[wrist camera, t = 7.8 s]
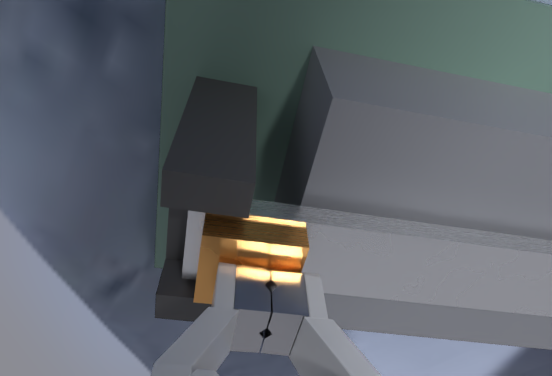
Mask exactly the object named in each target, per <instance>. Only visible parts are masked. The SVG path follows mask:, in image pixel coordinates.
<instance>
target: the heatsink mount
mask: <svg viewBox="0 0 552 376" xmlns="http://www.w3.org/2000/svg"><path fill="white" fill-rule="evenodd" d="M252 199H255V200H263V201H270V202H277V203H285V204H292V205H299V206H307V207H314V208H321V209H328V210H336V211H343V212H350V213H358V214H365V215H372V216H379V217H387V218H394V219H401V220H409V221H416V222H423V223H431V224H438V225H445V226H452V227H460V228H467V229H474V230H482V231H489V232H496V233H504V234H511V235H518V236H525V237H533V238H540V239H547V240H552V5H548V4H544V3H540V2H536V1H531V0H166V7H165V31H164V54H163V78H162V101H161V124H160V148H159V171H158V195H157V218H156V242H155V265H154V267H155V268H163V270H162V274H161V277H160V281H159V285H158V289H157V292H156V304H155V318H162V319H172V320H183V321H193V322H194V321H195V320H196V319H197V318H198V317H199V316H200V315H201V314H202V313H203V312H204V311H205V310H206V309H207V308H208V307H211V305H212V304H205V303H195V302H193V301H194V293H195V285H196V280H194V279H185V278H182V268H183V258H184V248H185V238H186V228H187V218H188V210H189V211H196V212H203V213H211V214H218V215H226V216H233V217H240V218H249V213H250V208H251V204H252ZM324 297H325V303H326V309H327V315H328V319H333V320H334V321H335V322H336V323H337V325H338V326H339V327H340V328H341V329H347V330H357V331H367V332H377V333H388V334H398V335H408V336H418V337H428V338H438V339H448V340H458V341H468V342H478V343H488V344H498V345H508V346H518V347H529V348H539V349H549V350H552V317H547V316H538V315H528V314H519V313H509V312H500V311H490V310H481V309H471V308H462V307H452V306H442V305H433V304H423V303H414V302H404V301H395V300H385V299H376V298H366V297H357V296H347V295H337V294H328V293H324Z"/></svg>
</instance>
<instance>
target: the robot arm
mask: <svg viewBox="0 0 552 376" xmlns="http://www.w3.org/2000/svg"><path fill="white" fill-rule="evenodd" d="M260 347H261V353H266V354H275V355H283V356H289V358H290V360H291V362H292V363H293V365H294V367H295V369H296V370H297V372H298V374H299V375H300V376H381V374H380V373H379V372H378V371H377V370H376V369H375V367H374V366H373V365H372V364H371V363H370V362H369V361H368V359H367V358H366V357H365V356H364V355H363V354H362V352H361V351H360V350H359V349H358V348H357V347H356V345H355V344H354V343H353V342H352V341H351V340H350V339H349V337H348V336H347V335H346V334H345V333H344V332H343V330H342V329H341V328H340V327H339V326H338V325H337V323H336V322H335V321H334V320H333V319H328V315H327V309H326V303H325V297H324V292H323V286H322V280H321V276H320V275H319V274H316V273H306V272H303V273H302V272H297V271H288V270H279V269H270V270H269V269H267V268H260V267H253V266H246V265H239V264H229V263H223V262H219V264H218V269H217V275H216V280H215V286H214V292H213V298H212V305H211V307H208V308H207V309H206V310H205V311H204V312H203V313H202V314H201V315H200V316H199V317H198V318H197V319H196V320H195V321H194V322H193V323H192V324H191V325H190V326H189V327H188V328H187V329H186V330H185V332H184V333H183V334H182V335H181V336H180V337H179V338H178V339H177V340H176V341H175V342H174V343H173V344H172V345H171V346H170V347H169V348H168V349H167V350H166V351H165V352H164V353H163V354H162V355H161V357H160V358H159V359H158V360H157V361H156V362H155V363H154V364H153V369H152V373H151V376H220V375H219V374H218V373H217V372H216V371H217V370H218V368H219V367H220V366H221V364H222V363H223V361H224V360H225V359H226V357H227V356H228V354H229V353H230V351H238V352H255V353H259V351H260Z"/></svg>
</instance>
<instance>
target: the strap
mask: <svg viewBox="0 0 552 376" xmlns="http://www.w3.org/2000/svg"><path fill="white" fill-rule="evenodd" d="M219 262H223V263H229V264H239V265H246V266H253V267H260V268H267V269H269V270H270V269H279V270H288V271H297V272H302V273H303V272H306V273H316V274H319V275H320V276H321V280H322V286H323V292H324V293H328V294H337V295H347V296H357V297H366V298H376V299H385V300H395V301H404V302H414V303H423V304H433V305H442V306H452V307H462V308H471V309H481V310H490V311H500V312H509V313H519V314H528V315H538V316H547V317H552V240H547V239H540V238H533V237H525V236H518V235H511V234H504V233H496V232H489V231H482V230H474V229H467V228H460V227H452V226H445V225H438V224H431V223H423V222H416V221H409V220H401V219H394V218H387V217H379V216H372V215H365V214H358V213H350V212H343V211H336V210H328V209H321V208H314V207H307V206H299V205H292V204H285V203H277V202H270V201H263V200H255V199H252V204H251V208H250V213H249V218H240V217H233V216H226V215H218V214H211V213H203V212H196V211H189V210H188V218H187V228H186V238H185V248H184V258H183V268H182V278H185V279H194V280H196V285H195V293H194V301H193V302H195V303H205V304H212V298H213V292H214V286H215V280H216V275H217V269H218V264H219Z"/></svg>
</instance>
